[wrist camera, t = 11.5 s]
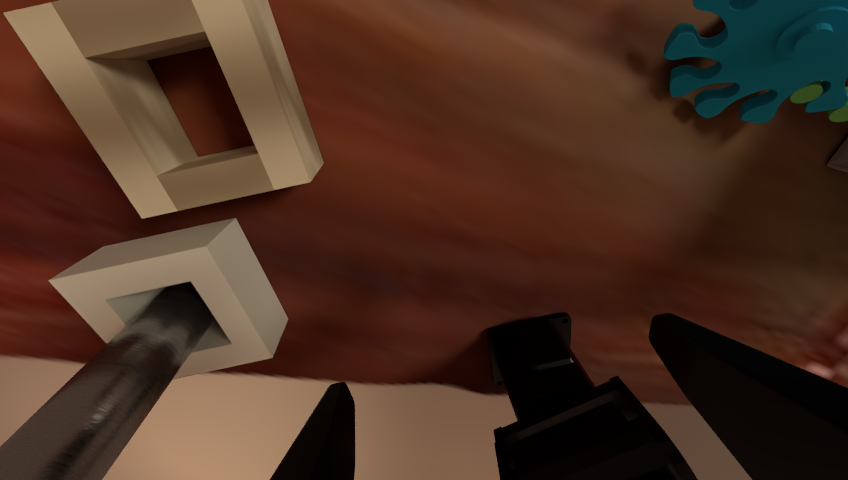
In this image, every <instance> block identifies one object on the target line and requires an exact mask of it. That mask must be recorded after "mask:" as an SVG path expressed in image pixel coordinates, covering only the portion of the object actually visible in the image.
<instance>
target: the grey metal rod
mask: <svg viewBox="0 0 848 480" xmlns="http://www.w3.org/2000/svg"><path fill="white" fill-rule="evenodd" d="M214 320H215V317H214V316H213V314H212V313H211V311H210V310H209V308H208V307H207V305H206V304H205V302H204V301H203V299H202V298H201V296H200V295H199V293H198V292H197V290H196V288H195V287H194V285H193V284H192V282H191V281H189V282H185V283H180V284H175V285H171V286H166V287H165V288H164V289H163V290H162V291H161V292H160V293H159V294H158V295H157V296H156V297H155V298H154V299H153V300H152V301H151V302H150V303H149V304H148V305H147V306H146V307H145V308H144V309H143V310H141V311H140V312H139V313H138V314H137V315H136V316H135V317H134V318H133V319H132V320H131V321H130V322H129V323H128V324H127V325H126V326H125V327H124V328H123V329H122V330H121V331H120V332H119V333H118V334H117V335H116V336H115V337H114V338H112V339H111V340H110V341H109V342H108V343H107V344H106V345H105V346H104V347H103V348H102V349H101V350H100V351H99V352H98V353H97V354H96V355H95V356H94V357H93V358H92V359H91V360H90V361H89V362H88V363H87V364H86V365H85V366H83V367H82V368H81V369H80V370H79V371H78V372H77V373H76V374H75V375H74V376H73V377H72V378H71V379H70V380H69V381H68V382H67V383H66V384H65V385H64V386H63V387H62V388H61V389H60V390H59V391H58V392H57V393H56V394H55V395H53V396H52V397H51V398H50V399H49V400H48V401H47V402H46V403H45V404H44V405H43V406H42V407H41V408H40V409H39V410H38V411H37V412H36V413H35V414H34V415H33V416H32V417H31V418H30V419H29V420H28V421H27V422H26V423H24V424H23V425H22V426H21V427H20V428H19V429H18V430H17V431H16V432H15V433H14V434H13V435H12V436H11V437H10V438H9V439H8V440H7V441H6V442H5V443H4V444H3V445H2V446H1V447H0V480H102V479H103V477H104V476H105V474H106V473H107V471H108V470H109V469H110V467H111V466H112V464H113V463H114V462H115V460H116V459H117V457H118V456H119V454H120V453H121V452H122V450H123V449H124V447H125V446H126V445H127V443H128V442H129V440H130V439H131V437H132V436H133V435H134V433H135V432H136V430H137V429H138V428H139V426H140V425H141V423H142V422H143V420H144V419H145V418H146V416H147V415H148V413H149V412H150V410H151V409H152V408H153V406H154V405H155V403H156V402H157V401H158V399H159V397H160V396H161V395H162V393H163V392H164V390H165V389H166V388H167V386H168V385H169V383H170V382H171V381H172V379H173V378H174V376H175V375H176V374H177V372H178V371H179V369H180V368H181V366H182V365H183V364H184V362H185V361H186V359H187V358H188V356H189V355H190V354H191V352H192V351H193V349H194V348H195V347H196V345H197V344H198V342H199V341H200V339H201V338H202V337H203V335H204V334H205V332H206V331H207V329H208V328H209V327H210V325H211V324H212V322H213V321H214Z"/></svg>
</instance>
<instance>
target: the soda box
mask: <svg viewBox="0 0 848 480" xmlns="http://www.w3.org/2000/svg"><path fill="white" fill-rule="evenodd" d="M827 166H828V167H830V168H833V169H836V170H839V171H843V172H846V173H848V137H847V139H846V140H845V141H844V143H843V144H842V145H841V146H840V148H839V149H838V150H837V152H836V153H835V154H834V155H833V157H832V158H831V159H830V161H829V162H828V163H827Z"/></svg>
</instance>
